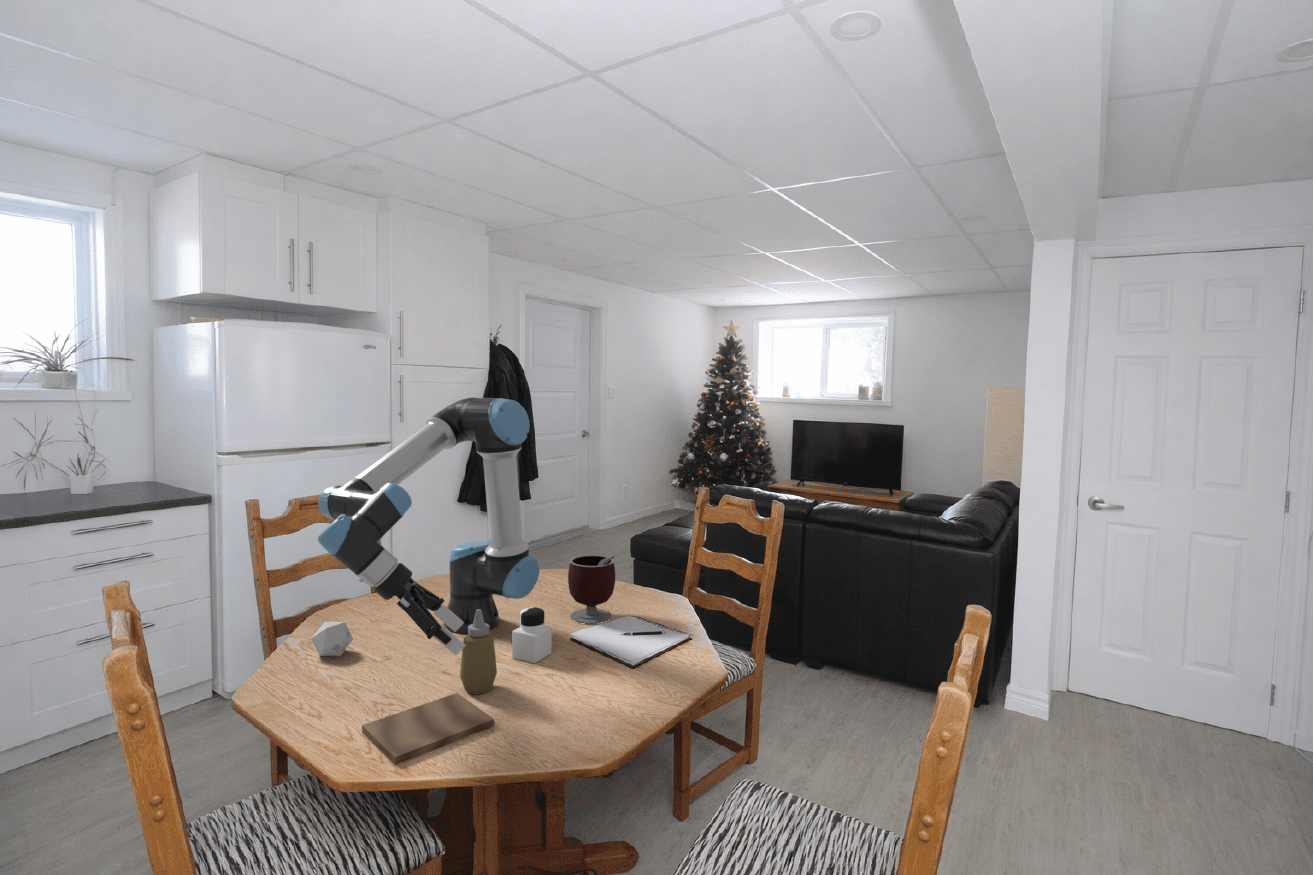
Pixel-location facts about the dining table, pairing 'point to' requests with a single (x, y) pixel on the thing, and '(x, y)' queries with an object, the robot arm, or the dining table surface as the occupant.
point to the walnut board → (426, 727)
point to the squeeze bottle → (478, 657)
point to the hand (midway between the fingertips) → (460, 638)
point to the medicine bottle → (531, 636)
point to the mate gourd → (591, 586)
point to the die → (332, 639)
